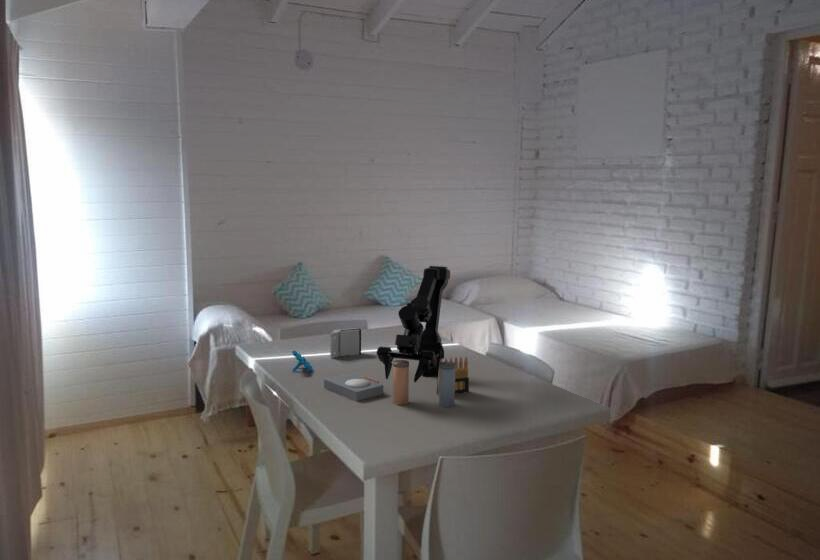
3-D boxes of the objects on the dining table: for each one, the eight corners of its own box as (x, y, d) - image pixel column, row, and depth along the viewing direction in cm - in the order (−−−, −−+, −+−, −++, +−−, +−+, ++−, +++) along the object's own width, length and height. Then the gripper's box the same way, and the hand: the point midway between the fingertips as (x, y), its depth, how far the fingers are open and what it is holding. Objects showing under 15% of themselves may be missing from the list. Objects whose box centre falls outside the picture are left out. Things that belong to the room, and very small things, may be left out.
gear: (313, 370, 236) (293, 350, 236) (301, 382, 236) (281, 362, 236) (315, 366, 247) (296, 347, 247) (304, 377, 247) (285, 358, 247)
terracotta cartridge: (407, 399, 211) (408, 359, 209) (409, 404, 206) (410, 364, 204) (392, 400, 211) (392, 360, 209) (393, 405, 206) (393, 364, 204)
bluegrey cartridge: (453, 401, 210) (454, 361, 208) (456, 407, 205) (457, 365, 203) (437, 402, 209) (438, 361, 207) (440, 407, 204) (440, 366, 203)
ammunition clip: (438, 395, 216) (439, 359, 214) (436, 393, 218) (437, 358, 216) (468, 392, 220) (469, 356, 218) (466, 390, 221) (467, 355, 219)
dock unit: (352, 381, 230) (352, 371, 229) (384, 393, 217) (384, 382, 216) (324, 387, 222) (324, 377, 222) (356, 401, 209) (356, 390, 209)
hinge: (331, 359, 258) (331, 333, 257) (325, 356, 263) (324, 331, 261) (362, 354, 266) (362, 329, 264) (356, 351, 270) (356, 327, 269)
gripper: (378, 321, 212) (365, 364, 203) (435, 326, 207) (424, 370, 198) (386, 340, 221) (374, 381, 212) (441, 345, 215) (431, 388, 206)
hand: (400, 380), depth 207 cm, fingers open, 9 cm apart
